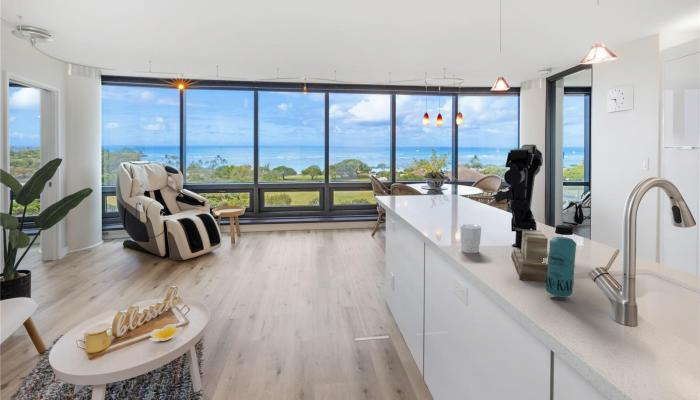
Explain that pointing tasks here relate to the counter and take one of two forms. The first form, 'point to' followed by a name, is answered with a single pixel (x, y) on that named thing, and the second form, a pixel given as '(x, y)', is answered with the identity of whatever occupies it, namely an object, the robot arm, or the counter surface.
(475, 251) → the white cup
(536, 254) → the tea box
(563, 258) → the beverage bottle
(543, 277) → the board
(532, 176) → the robot arm
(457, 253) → the counter surface
